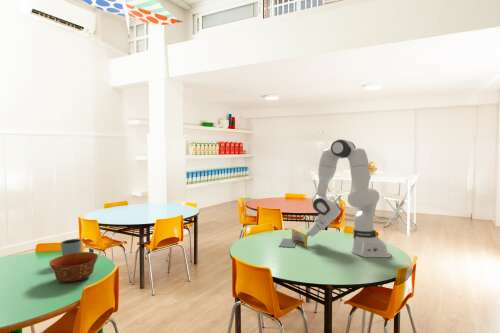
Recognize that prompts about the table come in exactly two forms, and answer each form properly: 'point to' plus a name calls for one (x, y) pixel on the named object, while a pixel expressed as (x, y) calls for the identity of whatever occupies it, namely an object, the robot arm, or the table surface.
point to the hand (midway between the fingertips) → (305, 236)
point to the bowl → (73, 266)
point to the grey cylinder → (71, 246)
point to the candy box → (299, 237)
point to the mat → (287, 243)
